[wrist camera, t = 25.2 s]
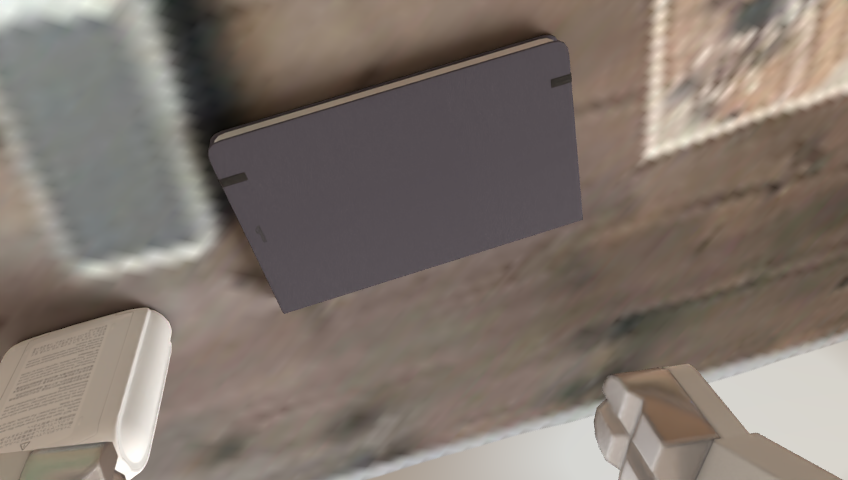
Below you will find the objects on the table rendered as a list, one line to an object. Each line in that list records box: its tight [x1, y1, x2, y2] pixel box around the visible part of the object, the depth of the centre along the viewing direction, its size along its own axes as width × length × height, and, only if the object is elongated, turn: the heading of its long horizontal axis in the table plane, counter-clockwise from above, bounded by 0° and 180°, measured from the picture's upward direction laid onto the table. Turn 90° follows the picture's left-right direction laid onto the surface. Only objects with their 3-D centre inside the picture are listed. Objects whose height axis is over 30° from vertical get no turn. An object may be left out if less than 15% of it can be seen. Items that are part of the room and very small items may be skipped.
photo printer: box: [0, 308, 172, 480], centre depth 35 cm, size 10×4×12 cm, turn 102°
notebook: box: [208, 35, 583, 314], centre depth 38 cm, size 13×2×21 cm
